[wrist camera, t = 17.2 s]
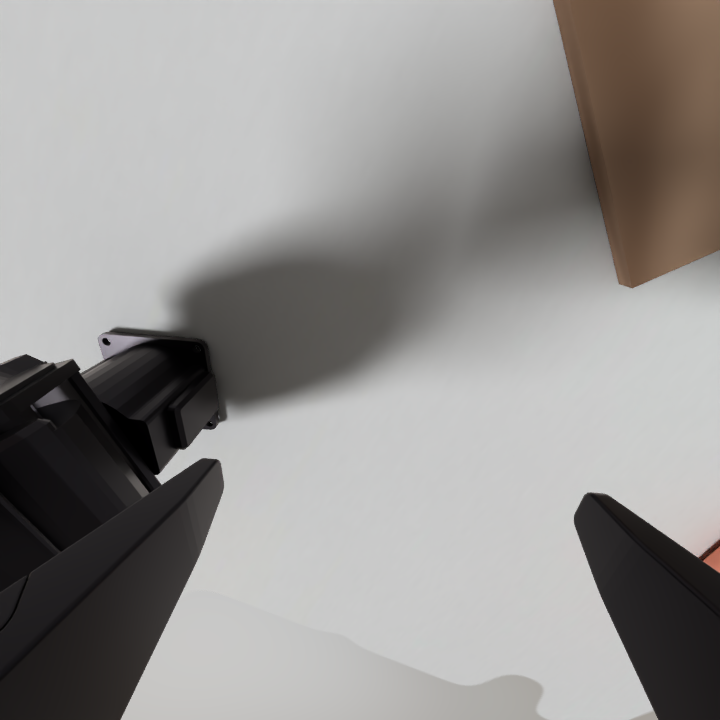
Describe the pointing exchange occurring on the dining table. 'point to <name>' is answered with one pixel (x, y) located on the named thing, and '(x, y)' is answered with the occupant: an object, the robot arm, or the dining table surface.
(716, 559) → the teapot
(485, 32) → the dining table surface
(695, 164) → the post base
